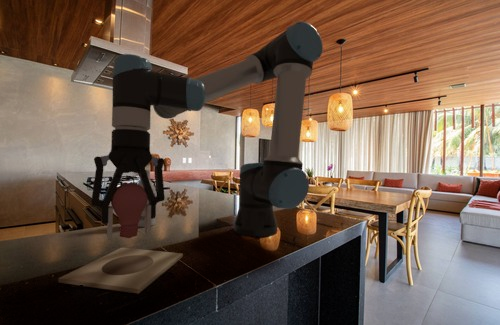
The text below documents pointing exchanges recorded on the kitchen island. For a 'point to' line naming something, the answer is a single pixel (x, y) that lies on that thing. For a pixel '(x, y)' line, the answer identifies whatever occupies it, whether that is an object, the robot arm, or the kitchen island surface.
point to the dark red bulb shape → (129, 207)
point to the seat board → (123, 270)
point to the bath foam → (142, 217)
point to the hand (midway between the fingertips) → (129, 235)
